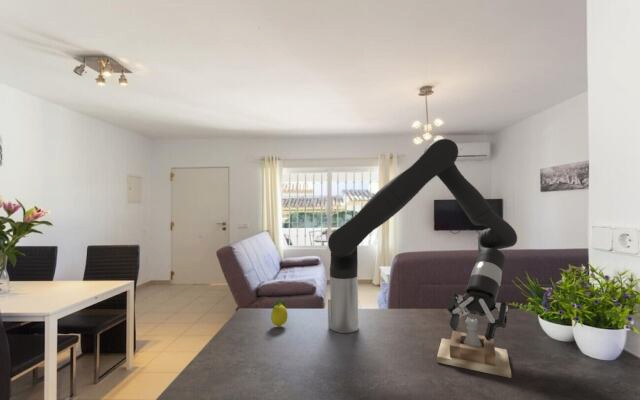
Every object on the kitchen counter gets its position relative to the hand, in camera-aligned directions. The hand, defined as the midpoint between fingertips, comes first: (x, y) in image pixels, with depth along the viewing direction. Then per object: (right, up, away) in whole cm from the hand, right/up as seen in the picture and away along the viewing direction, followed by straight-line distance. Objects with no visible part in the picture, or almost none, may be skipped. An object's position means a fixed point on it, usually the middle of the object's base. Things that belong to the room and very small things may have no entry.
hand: (469, 333), depth 77 cm
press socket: (+1, -7, +1) cm, 7 cm away
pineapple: (-52, -9, +23) cm, 58 cm away
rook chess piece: (+1, -5, +1) cm, 5 cm away
